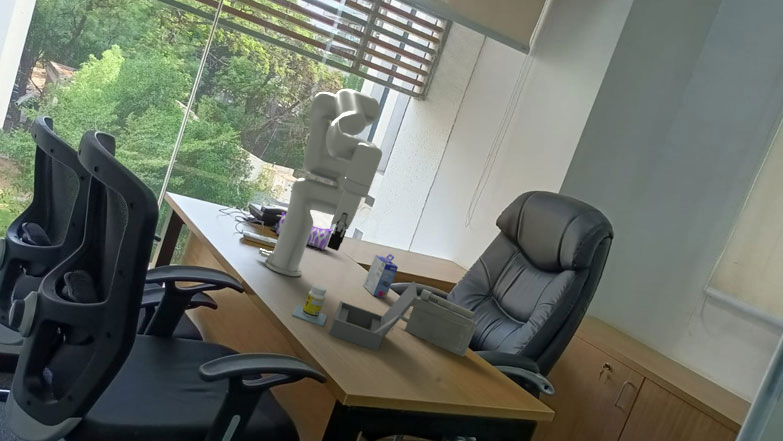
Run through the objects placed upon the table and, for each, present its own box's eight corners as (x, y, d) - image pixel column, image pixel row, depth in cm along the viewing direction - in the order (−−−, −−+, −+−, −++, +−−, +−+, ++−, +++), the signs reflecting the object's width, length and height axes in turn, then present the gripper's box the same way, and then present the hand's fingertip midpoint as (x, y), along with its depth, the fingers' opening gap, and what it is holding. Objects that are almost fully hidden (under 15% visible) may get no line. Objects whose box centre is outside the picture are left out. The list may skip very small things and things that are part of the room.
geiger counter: (482, 313, 202) (408, 280, 209) (478, 316, 196) (402, 282, 203) (466, 354, 204) (393, 320, 211) (461, 359, 198) (386, 324, 205)
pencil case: (271, 234, 265) (279, 212, 264) (276, 230, 274) (283, 209, 273) (324, 253, 266) (332, 231, 264) (327, 249, 275) (334, 227, 274)
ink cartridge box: (386, 299, 233) (401, 260, 230) (373, 296, 230) (387, 257, 228) (375, 288, 241) (389, 251, 239) (362, 285, 239) (376, 248, 236)
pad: (291, 315, 182) (292, 314, 182) (296, 306, 191) (297, 305, 191) (323, 326, 183) (323, 325, 183) (326, 316, 192) (327, 315, 191)
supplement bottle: (302, 309, 189) (312, 282, 188) (318, 314, 190) (328, 287, 188) (301, 314, 184) (311, 286, 183) (317, 320, 185) (327, 292, 184)
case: (328, 335, 178) (350, 274, 175) (335, 315, 196) (355, 260, 193) (394, 358, 179) (417, 298, 176) (395, 336, 197) (415, 281, 194)
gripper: (345, 179, 192) (325, 234, 194) (339, 186, 175) (317, 246, 177) (370, 188, 192) (349, 243, 195) (366, 196, 175) (344, 256, 178)
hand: (334, 245), depth 186 cm, fingers open, 9 cm apart
